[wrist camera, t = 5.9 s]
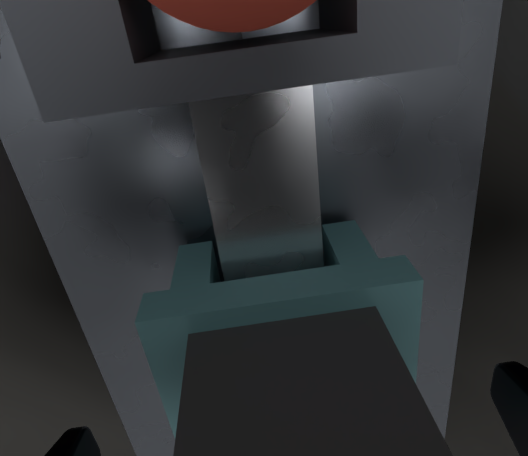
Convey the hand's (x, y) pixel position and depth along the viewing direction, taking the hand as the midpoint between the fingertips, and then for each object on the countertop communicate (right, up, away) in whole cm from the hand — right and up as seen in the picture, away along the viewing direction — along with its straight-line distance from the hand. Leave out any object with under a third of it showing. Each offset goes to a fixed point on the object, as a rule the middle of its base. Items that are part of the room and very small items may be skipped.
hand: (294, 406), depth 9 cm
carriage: (0, +2, +3) cm, 4 cm away
